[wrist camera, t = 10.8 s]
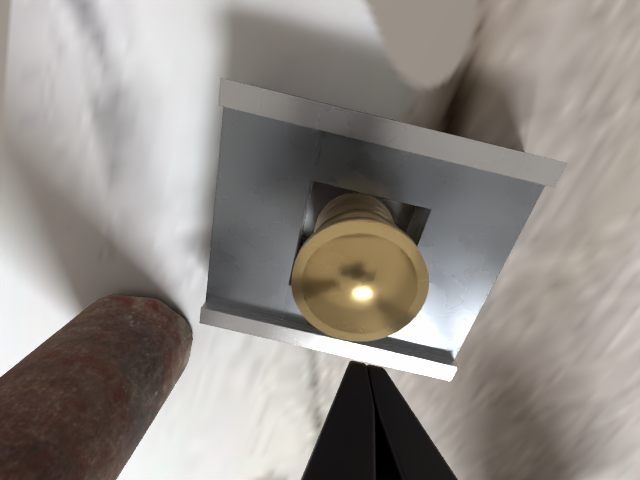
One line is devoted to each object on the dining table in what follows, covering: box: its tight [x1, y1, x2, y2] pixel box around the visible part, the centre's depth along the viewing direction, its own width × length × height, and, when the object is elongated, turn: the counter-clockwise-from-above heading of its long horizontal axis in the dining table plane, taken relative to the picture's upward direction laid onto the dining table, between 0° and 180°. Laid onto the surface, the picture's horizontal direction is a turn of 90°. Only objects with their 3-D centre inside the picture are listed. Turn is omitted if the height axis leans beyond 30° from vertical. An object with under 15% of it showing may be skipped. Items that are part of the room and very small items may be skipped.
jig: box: [200, 78, 567, 381], centre depth 16 cm, size 14×12×3 cm
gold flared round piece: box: [291, 193, 429, 342], centre depth 15 cm, size 5×5×6 cm
